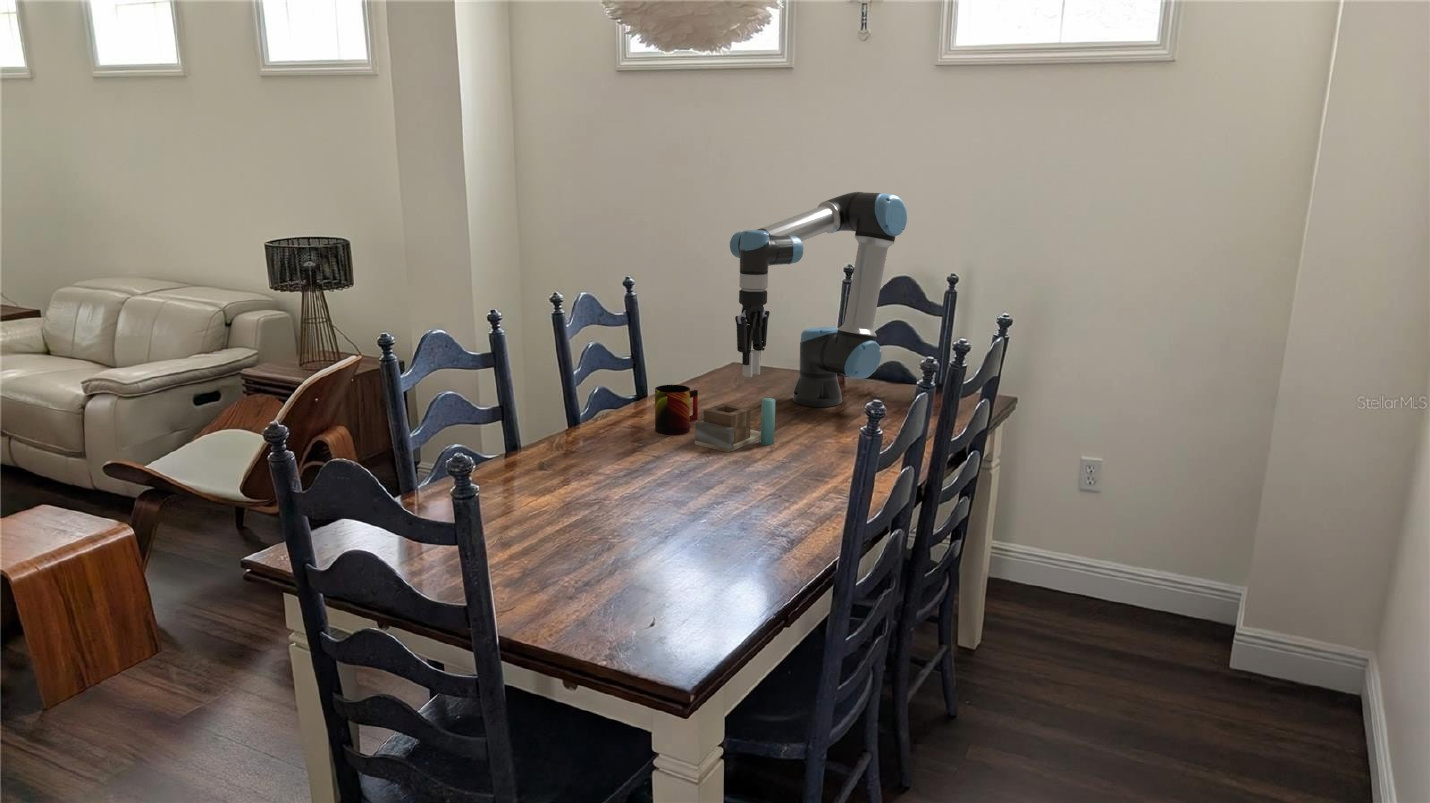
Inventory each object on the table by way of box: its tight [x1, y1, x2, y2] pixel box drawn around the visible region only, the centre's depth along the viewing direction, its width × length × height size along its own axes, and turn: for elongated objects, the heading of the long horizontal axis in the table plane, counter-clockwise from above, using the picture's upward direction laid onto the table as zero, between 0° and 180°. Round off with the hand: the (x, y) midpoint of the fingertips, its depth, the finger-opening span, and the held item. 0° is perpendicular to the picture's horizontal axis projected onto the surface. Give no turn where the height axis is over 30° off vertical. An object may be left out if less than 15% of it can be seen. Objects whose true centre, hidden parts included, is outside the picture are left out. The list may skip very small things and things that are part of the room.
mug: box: [654, 384, 699, 437], centre depth 278 cm, size 10×14×12 cm
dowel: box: [760, 397, 776, 446], centre depth 266 cm, size 4×4×12 cm
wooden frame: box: [694, 420, 761, 453], centre depth 269 cm, size 18×11×6 cm, turn 144°
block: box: [703, 403, 752, 444], centre depth 267 cm, size 9×9×8 cm
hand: (751, 374), depth 272 cm, fingers open, 3 cm apart
